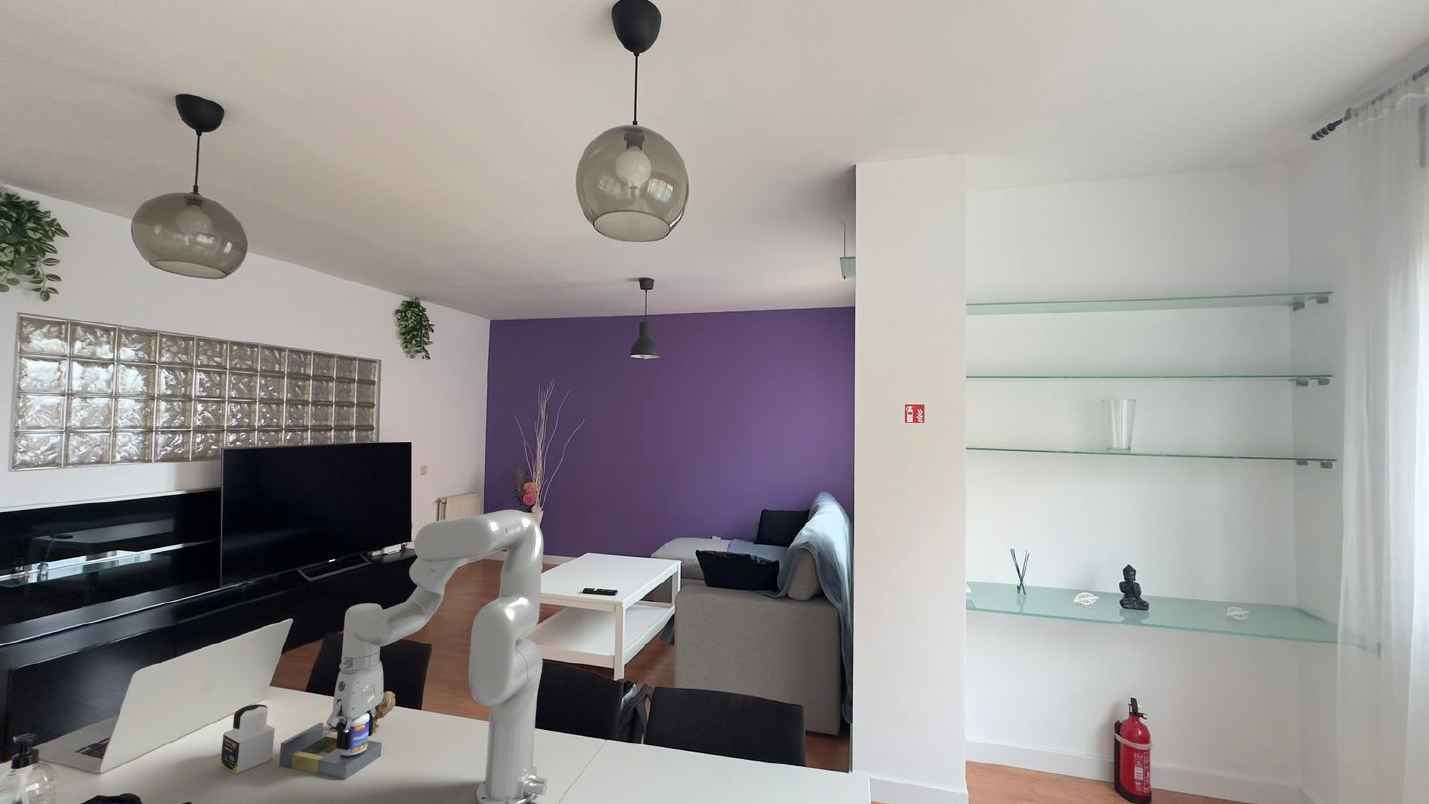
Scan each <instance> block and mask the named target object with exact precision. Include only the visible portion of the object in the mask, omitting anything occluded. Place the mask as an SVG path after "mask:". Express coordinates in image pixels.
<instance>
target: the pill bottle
mask: <svg viewBox="0 0 1429 804" xmlns="http://www.w3.org/2000/svg"><path fill="white" fill-rule="evenodd" d="M369 717H370V716H369V714H368V713H367V712H365V713H363V714H361V715H360V716H358V717H356V718H354V719H352V722H351V725H350V729H349V730H350V731H351V744H350V749H348V750H343V749H340V753H341V754H342V755H346V756H351V755H355V754H359V753H361V752H363V751H364V750H365V749H366V748H367V745H368V740H369V736H368V731H369ZM346 720H347V719H344V720H343V724H344V725H345V722H346Z"/></svg>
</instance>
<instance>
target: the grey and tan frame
mask: <svg viewBox="0 0 1429 804" xmlns="http://www.w3.org/2000/svg"><path fill="white" fill-rule="evenodd" d="M336 743H337V733H332V732H331V733H330V732H325V731H324V722H319V723H317V724H315V725H312V726H311V727H309V728H307V729H305V730H303V731H301V732H299V733H297V734H295V735H294V736H292V737H290V738H288V739H286V740H284V741H282V742H280V750H279V762H278V766H279V767H281V768H282V767H283V768H288V769H292V770H297V771H301V772H307V773H310V774H317V775H320V776H321V775H322V776H326V777H331V778H334V779H335V778H336V779H340V780H345V781H346V780H347V779H348V778H350V777H351V776H354V775H355V774H356V773H357V772H359V771H361V770H362V769H364V768H365V767H367V766H368V765H370V764H371V763H372V762H375V761H376V760H377V759H378V758H380V757H381V756H382V748H383V747H382V745H383V742H379V741H375V740H370V739H368V745H367V748H366V749H365V750H364V751H363V752H361V753H359V754H355V755H351V756H346V755H342V754H341V753H340V749H338V748H336ZM322 751H330V752H329V753H327V754H325V755H320V754H319V753H321V752H322Z"/></svg>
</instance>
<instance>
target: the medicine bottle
mask: <svg viewBox="0 0 1429 804" xmlns="http://www.w3.org/2000/svg"><path fill="white" fill-rule="evenodd" d="M268 709H269V708H268V706H267V705H265V704H250V705H247V706H244V707H241V708H239V709H238V710H237V711H236V712H234V714H233V724H232V729H231V730H228V731H225V732H224V733H223V736H222V743H221V744H222V745H221V753H220V754H221V757H220V766H223V767H224V768H225V769H227V770H229V771H231V772H232V773H234V774H236V775H237V774H240V773H243V772H245V771H247V770H250V769H252V768H255V767H257V766H260V765H262V764H264V763H267V762H269V761H271V760H272V759H273V754H274V751H273V750H274V741H275V730H276V729H275V727H273V726H271V725H269V724H267V723H268V722H267V720H268V719H267V718H268V711H269V710H268Z"/></svg>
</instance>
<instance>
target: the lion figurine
mask: <svg viewBox="0 0 1429 804" xmlns="http://www.w3.org/2000/svg"><path fill="white" fill-rule="evenodd" d="M383 693H384V694H385V696H384V697H383V699H382V702H381V703H380V705H379V707H378V708H377V710H376V715H375V717H373V718H374V719H373V733H372V734H376V733H377V731H378V730H377V728H379V726H380V725H379V724H377V722H378V720H380V719H384V718H385V716H386V715H387V714H388V713H390V712H391V711H392V710H393V709H394V707H395V705H396V698H395V697H396V694H395V693H394V692H392V691H391V690H390V691H385V692H383ZM329 730H335V729H334V728H332V727H331V726H330V728H329Z"/></svg>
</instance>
